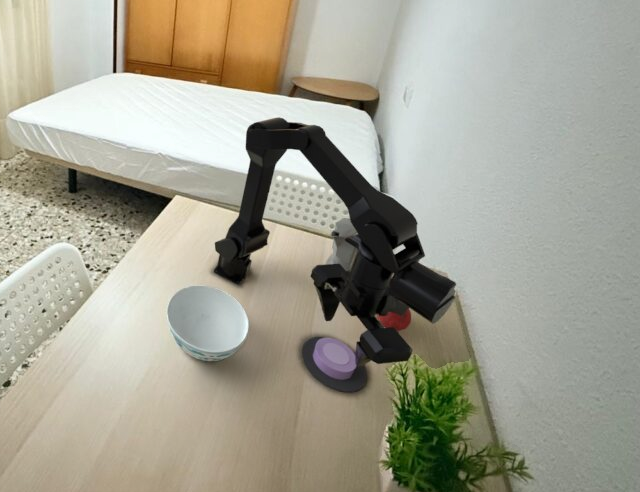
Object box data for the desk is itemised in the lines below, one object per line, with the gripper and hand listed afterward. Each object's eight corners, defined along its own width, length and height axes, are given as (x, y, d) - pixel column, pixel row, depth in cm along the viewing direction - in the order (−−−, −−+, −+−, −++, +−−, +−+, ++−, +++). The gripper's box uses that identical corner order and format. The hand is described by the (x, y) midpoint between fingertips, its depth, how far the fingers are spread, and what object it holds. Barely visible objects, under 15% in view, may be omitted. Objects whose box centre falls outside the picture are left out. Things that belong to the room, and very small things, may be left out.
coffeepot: (327, 301, 88) (351, 236, 80) (303, 271, 96) (321, 209, 89) (387, 293, 91) (415, 229, 83) (358, 264, 99) (381, 203, 92)
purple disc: (308, 364, 74) (311, 355, 73) (318, 338, 79) (321, 330, 78) (349, 387, 70) (353, 379, 69) (357, 359, 76) (360, 351, 75)
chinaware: (248, 329, 81) (255, 301, 78) (233, 395, 69) (240, 366, 65) (177, 302, 86) (181, 275, 83) (151, 359, 74) (154, 330, 71)
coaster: (294, 367, 74) (294, 366, 74) (310, 327, 82) (311, 326, 82) (359, 405, 68) (360, 404, 68) (370, 359, 76) (371, 358, 76)
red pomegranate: (409, 342, 80) (423, 313, 76) (377, 336, 81) (390, 307, 77) (397, 318, 85) (410, 290, 81) (368, 313, 86) (379, 285, 82)
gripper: (461, 319, 58) (423, 387, 65) (374, 236, 75) (351, 298, 82) (392, 325, 57) (360, 395, 63) (319, 239, 73) (300, 302, 80)
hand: (342, 341), depth 72 cm, fingers open, 9 cm apart
